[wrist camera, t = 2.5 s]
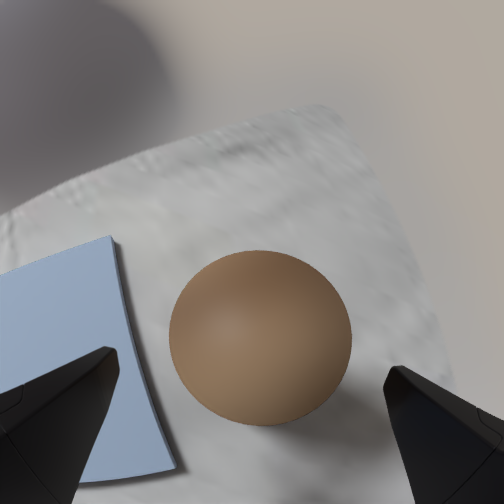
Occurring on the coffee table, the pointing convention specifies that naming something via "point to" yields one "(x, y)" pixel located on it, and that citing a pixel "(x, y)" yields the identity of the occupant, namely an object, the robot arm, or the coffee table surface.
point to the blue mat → (82, 349)
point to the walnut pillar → (260, 338)
